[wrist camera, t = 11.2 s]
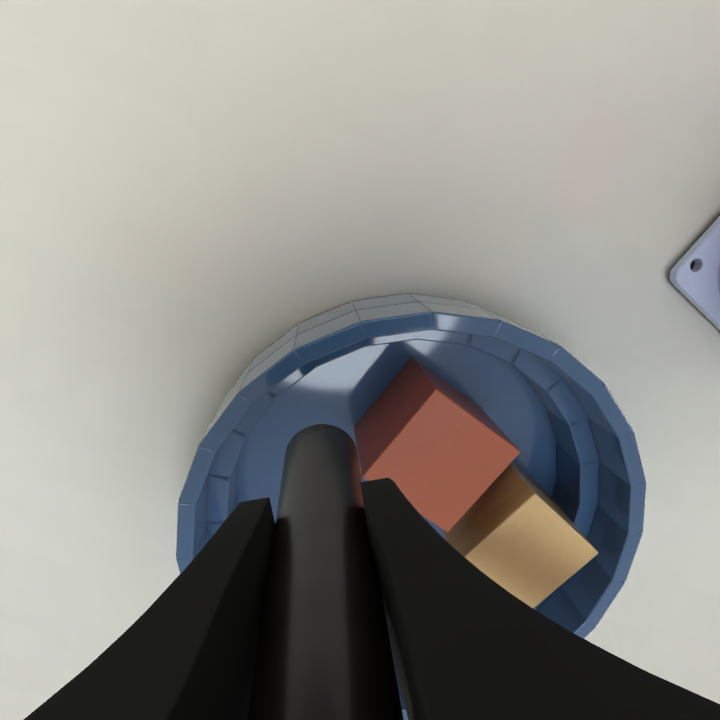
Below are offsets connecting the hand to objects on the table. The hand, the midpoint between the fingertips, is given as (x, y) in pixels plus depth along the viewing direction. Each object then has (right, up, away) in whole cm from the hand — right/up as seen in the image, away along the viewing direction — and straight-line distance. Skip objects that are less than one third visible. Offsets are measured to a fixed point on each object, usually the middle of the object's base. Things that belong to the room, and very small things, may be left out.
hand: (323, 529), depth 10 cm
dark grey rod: (0, +1, +3) cm, 3 cm away
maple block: (+7, -3, +12) cm, 14 cm away
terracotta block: (+3, +1, +10) cm, 11 cm away
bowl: (+3, -2, +11) cm, 12 cm away
